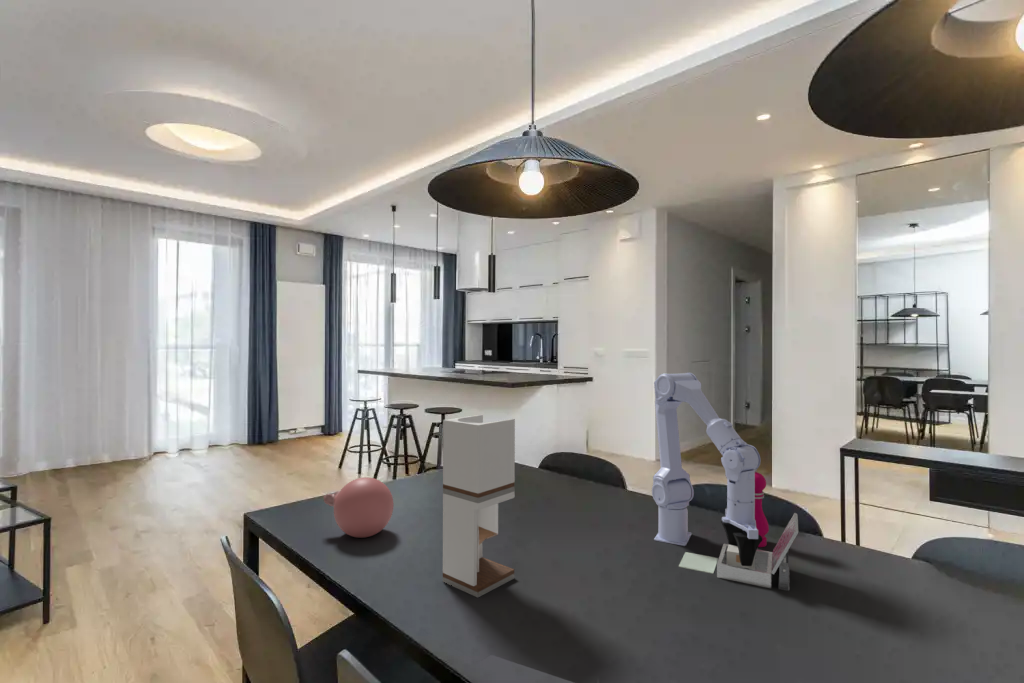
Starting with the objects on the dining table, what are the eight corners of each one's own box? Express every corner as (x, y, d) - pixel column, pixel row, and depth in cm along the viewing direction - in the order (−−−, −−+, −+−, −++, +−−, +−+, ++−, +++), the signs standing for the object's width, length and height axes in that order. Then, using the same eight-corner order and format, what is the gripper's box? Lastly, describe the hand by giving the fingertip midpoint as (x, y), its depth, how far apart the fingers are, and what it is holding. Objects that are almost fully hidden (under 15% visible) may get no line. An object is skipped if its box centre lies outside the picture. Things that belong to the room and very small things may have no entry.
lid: (794, 512, 117) (797, 514, 116) (772, 550, 119) (775, 552, 118) (795, 530, 105) (798, 532, 105) (770, 572, 107) (773, 574, 107)
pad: (685, 553, 125) (685, 551, 125) (718, 559, 122) (718, 558, 122) (678, 567, 118) (678, 565, 118) (713, 574, 114) (713, 572, 114)
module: (728, 563, 119) (728, 544, 119) (754, 568, 116) (754, 548, 116) (726, 570, 115) (726, 550, 115) (753, 576, 113) (753, 555, 113)
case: (723, 556, 124) (723, 536, 124) (789, 569, 117) (789, 547, 117) (717, 578, 112) (717, 555, 112) (789, 593, 106) (789, 569, 106)
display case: (477, 598, 103) (478, 425, 103) (442, 582, 110) (443, 420, 110) (514, 578, 112) (514, 419, 112) (479, 564, 119) (480, 414, 119)
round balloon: (342, 521, 148) (342, 468, 148) (403, 528, 142) (404, 473, 142) (306, 541, 133) (306, 481, 133) (373, 550, 127) (373, 488, 127)
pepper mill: (772, 549, 128) (772, 470, 128) (741, 547, 129) (741, 468, 130) (764, 539, 135) (764, 463, 135) (735, 536, 137) (735, 462, 137)
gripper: (712, 489, 123) (712, 545, 123) (734, 509, 109) (734, 572, 109) (742, 490, 123) (742, 546, 123) (768, 509, 109) (768, 573, 108)
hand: (740, 559), depth 116 cm, fingers closed on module, 6 cm apart
